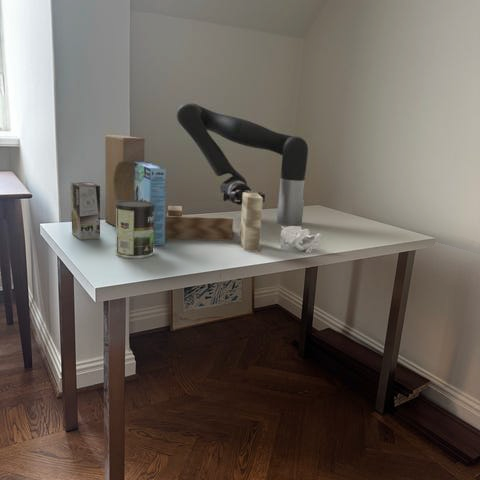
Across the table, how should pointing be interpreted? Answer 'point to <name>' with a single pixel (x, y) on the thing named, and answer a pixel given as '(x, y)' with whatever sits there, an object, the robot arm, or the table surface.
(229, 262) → the table surface
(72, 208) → the coffee box
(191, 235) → the brown wooden block
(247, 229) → the light wooden block
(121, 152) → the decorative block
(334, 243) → the table surface
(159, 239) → the light blue carton
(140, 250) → the coffee can
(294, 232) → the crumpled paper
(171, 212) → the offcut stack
